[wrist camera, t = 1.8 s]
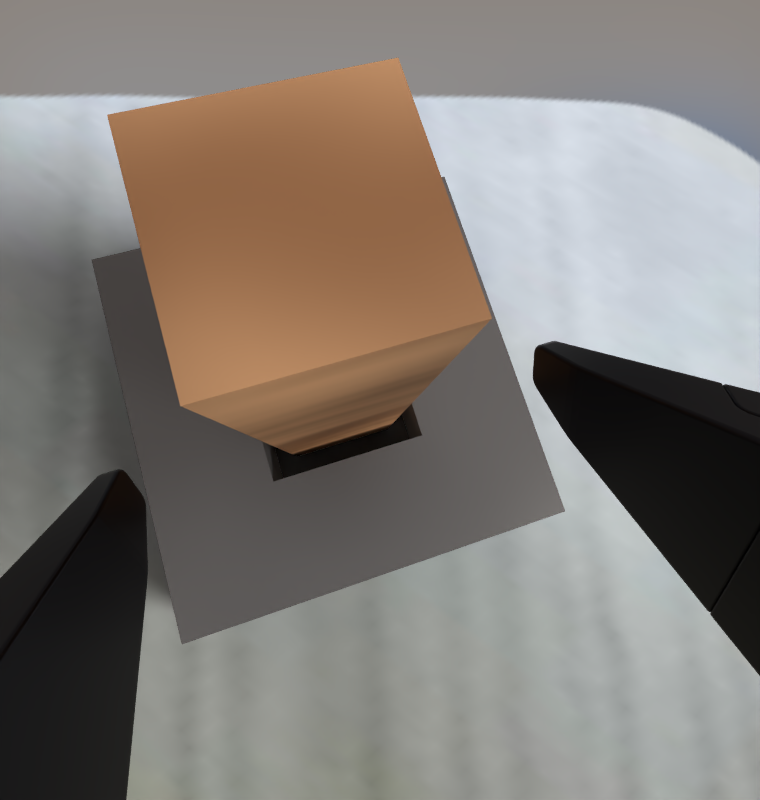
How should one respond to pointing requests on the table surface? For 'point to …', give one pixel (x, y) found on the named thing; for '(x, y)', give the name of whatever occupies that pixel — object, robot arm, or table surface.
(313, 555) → the grey square socket base
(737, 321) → the table surface
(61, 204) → the table surface
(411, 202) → the plug
